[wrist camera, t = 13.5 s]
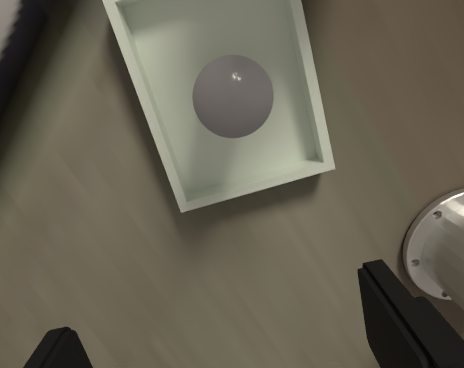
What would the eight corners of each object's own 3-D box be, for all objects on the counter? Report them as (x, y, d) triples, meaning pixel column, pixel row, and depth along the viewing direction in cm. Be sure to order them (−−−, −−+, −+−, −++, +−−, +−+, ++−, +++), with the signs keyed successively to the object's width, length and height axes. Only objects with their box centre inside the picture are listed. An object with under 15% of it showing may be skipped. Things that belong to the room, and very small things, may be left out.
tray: (280, -54, 27) (287, -68, 24) (325, 159, 33) (335, 168, 30) (111, 1, 28) (100, -7, 25) (184, 200, 34) (181, 212, 31)
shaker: (246, 51, 29) (262, 43, 19) (260, 105, 30) (282, 125, 20) (193, 67, 29) (181, 68, 19) (210, 121, 31) (206, 147, 21)
